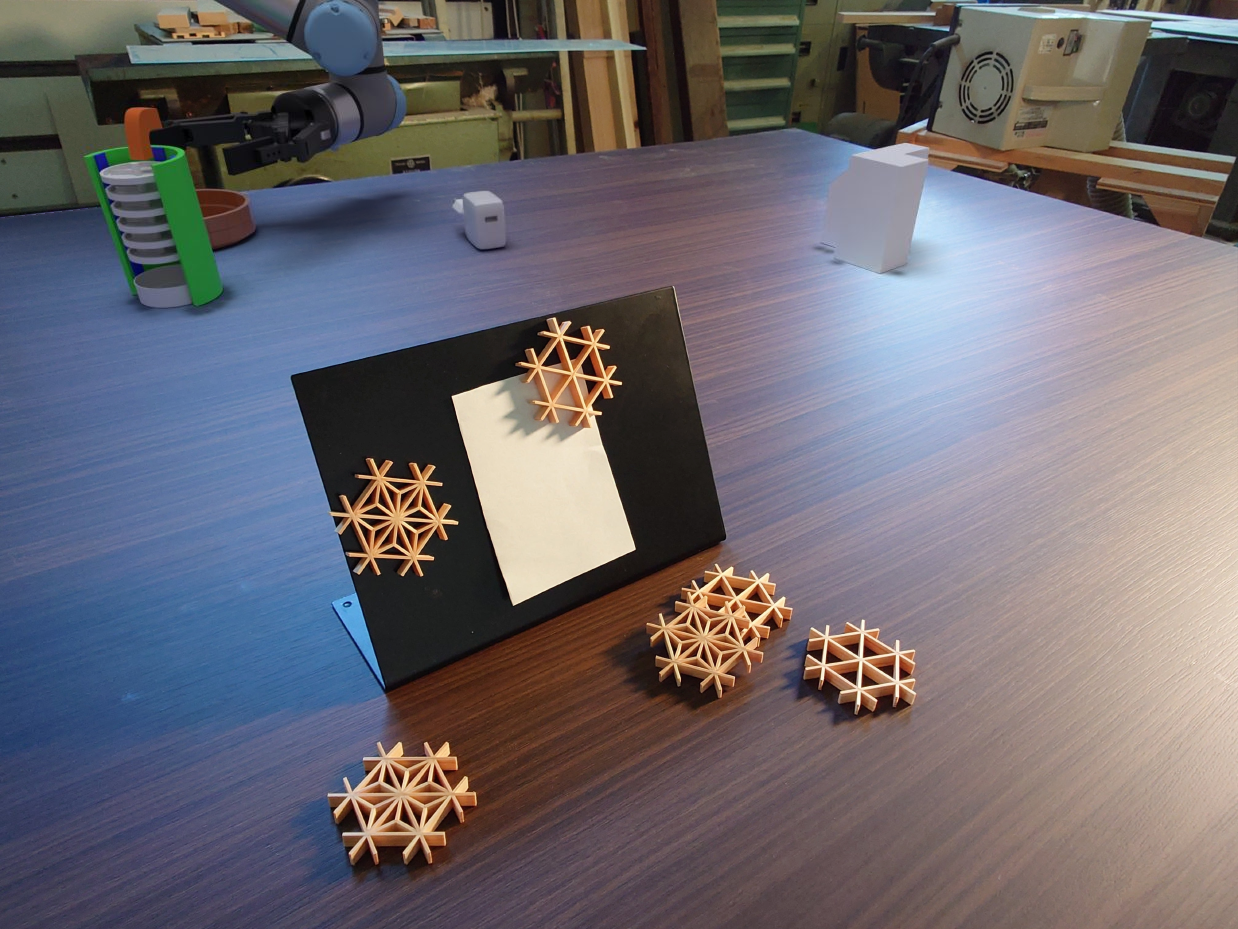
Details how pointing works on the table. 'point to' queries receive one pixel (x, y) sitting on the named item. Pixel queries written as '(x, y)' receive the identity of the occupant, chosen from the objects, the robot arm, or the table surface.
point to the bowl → (226, 216)
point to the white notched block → (876, 206)
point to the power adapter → (482, 219)
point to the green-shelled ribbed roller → (155, 217)
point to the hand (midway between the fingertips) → (179, 155)
